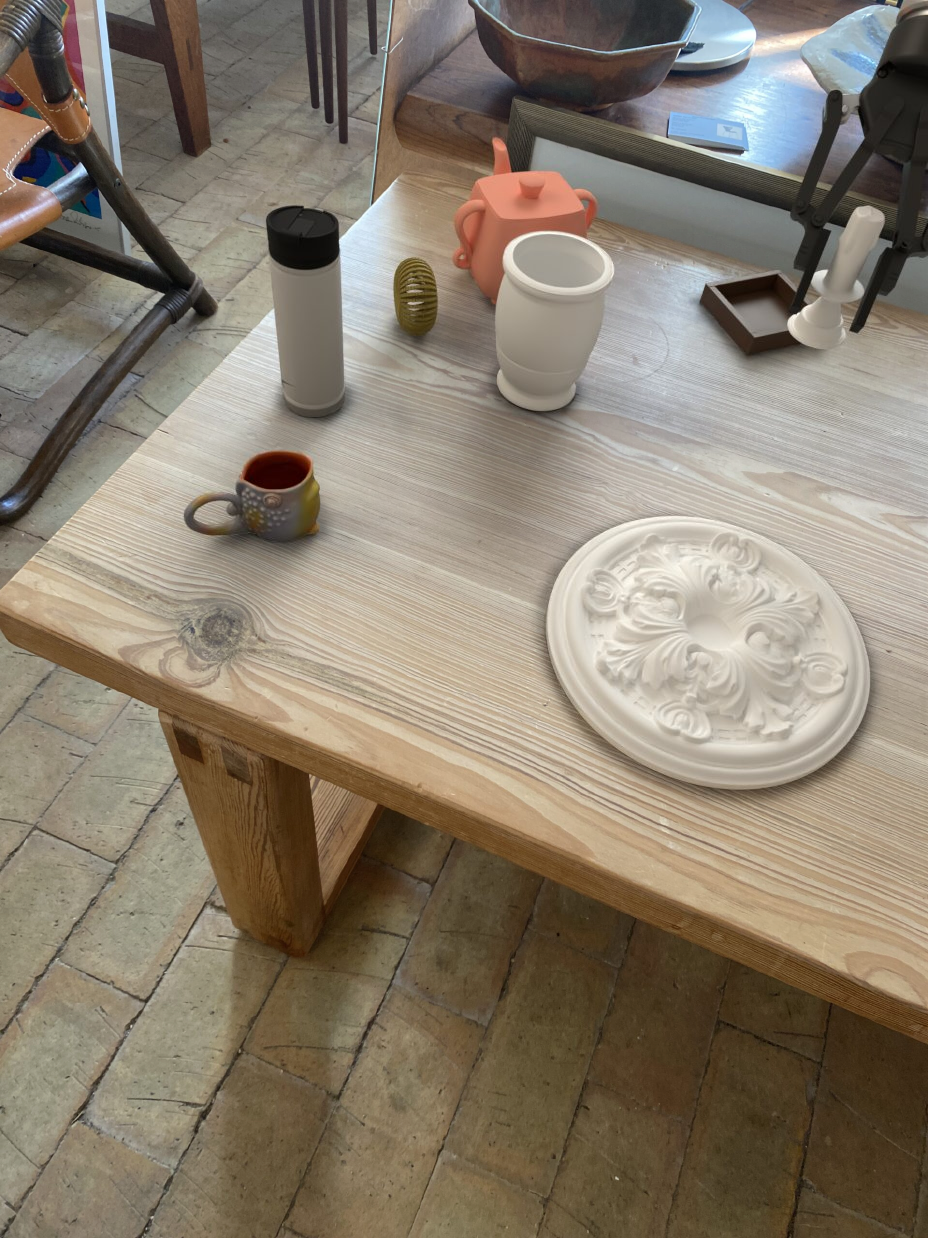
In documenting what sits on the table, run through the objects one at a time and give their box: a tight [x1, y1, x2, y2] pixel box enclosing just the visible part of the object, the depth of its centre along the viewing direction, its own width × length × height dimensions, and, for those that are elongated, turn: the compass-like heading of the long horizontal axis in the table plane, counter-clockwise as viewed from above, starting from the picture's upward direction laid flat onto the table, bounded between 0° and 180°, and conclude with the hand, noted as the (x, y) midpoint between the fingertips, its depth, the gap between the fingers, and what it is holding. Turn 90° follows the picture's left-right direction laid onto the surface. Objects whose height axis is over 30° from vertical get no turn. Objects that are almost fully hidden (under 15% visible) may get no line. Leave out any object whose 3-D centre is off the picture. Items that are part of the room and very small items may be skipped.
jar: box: [494, 231, 615, 412], centre depth 91 cm, size 11×10×15 cm
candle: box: [787, 205, 886, 350], centre depth 78 cm, size 5×5×12 cm
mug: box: [183, 449, 321, 543], centre depth 80 cm, size 12×7×7 cm, turn 113°
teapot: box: [452, 137, 599, 306], centre depth 103 cm, size 15×17×13 cm
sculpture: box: [392, 256, 439, 337], centre depth 98 cm, size 8×4×8 cm, turn 13°
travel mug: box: [265, 204, 346, 418], centre depth 85 cm, size 6×7×20 cm
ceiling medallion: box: [545, 515, 871, 791], centre depth 78 cm, size 28×28×3 cm
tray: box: [699, 269, 814, 357], centre depth 107 cm, size 11×11×2 cm
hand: (825, 318), depth 78 cm, fingers closed on candle, 5 cm apart
